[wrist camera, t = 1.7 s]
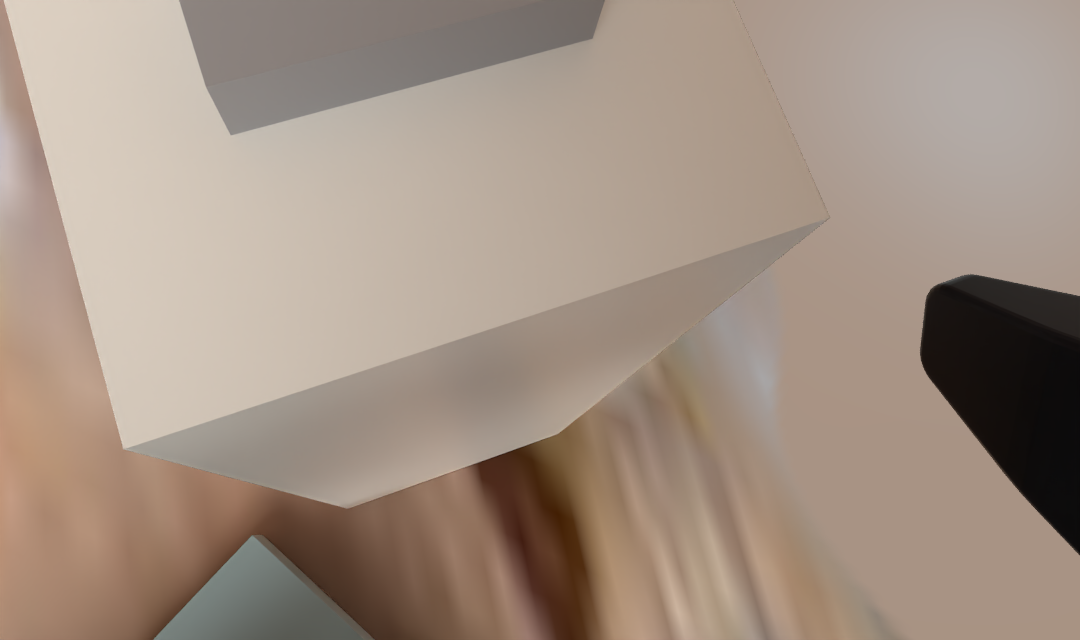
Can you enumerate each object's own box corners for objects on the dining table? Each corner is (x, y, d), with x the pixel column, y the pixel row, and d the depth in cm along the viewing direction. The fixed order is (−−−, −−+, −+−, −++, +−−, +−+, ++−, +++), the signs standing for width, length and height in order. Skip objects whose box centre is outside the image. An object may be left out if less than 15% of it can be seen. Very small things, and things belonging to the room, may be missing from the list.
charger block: (558, 433, 18) (875, 181, 5) (348, 508, 17) (80, 437, 4) (486, 239, 19) (603, -411, 6) (283, 301, 18) (-108, -295, 5)
